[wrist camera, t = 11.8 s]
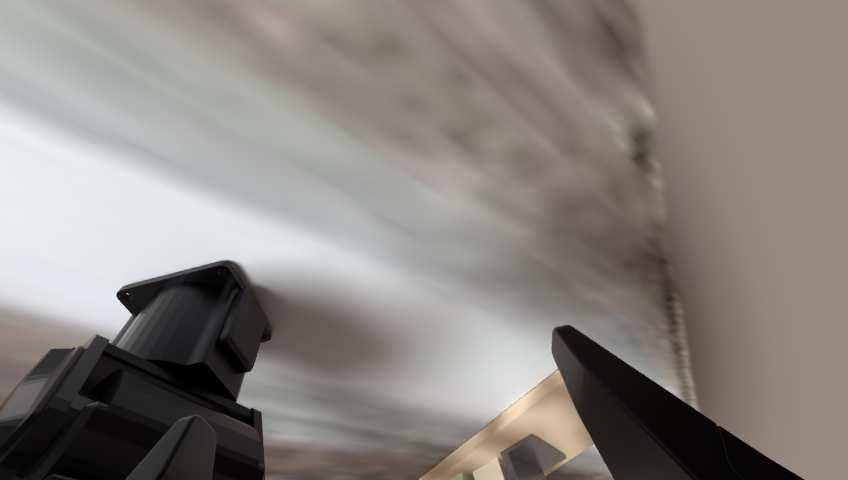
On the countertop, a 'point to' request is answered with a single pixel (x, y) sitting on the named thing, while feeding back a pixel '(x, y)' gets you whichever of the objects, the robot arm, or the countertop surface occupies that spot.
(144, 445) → the robot arm
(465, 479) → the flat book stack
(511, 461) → the metal bookend
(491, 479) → the boxed book
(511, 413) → the shelf plank
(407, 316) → the countertop surface
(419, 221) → the countertop surface
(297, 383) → the countertop surface
